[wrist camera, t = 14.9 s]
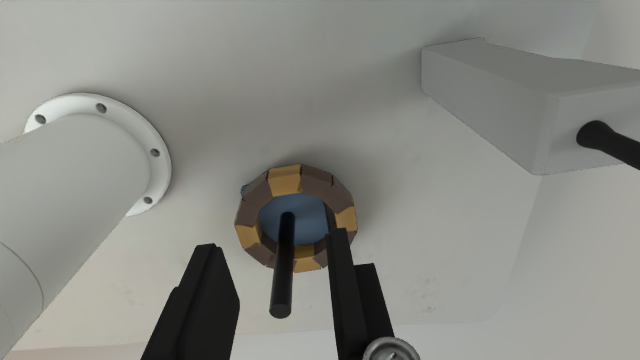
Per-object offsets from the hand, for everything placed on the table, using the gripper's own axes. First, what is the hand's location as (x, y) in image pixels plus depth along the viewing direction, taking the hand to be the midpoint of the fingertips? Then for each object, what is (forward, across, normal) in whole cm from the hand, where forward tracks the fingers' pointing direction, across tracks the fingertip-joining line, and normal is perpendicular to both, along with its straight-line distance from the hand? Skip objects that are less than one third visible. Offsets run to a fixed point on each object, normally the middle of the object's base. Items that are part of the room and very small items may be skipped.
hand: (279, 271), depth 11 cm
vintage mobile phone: (+21, -14, -2) cm, 25 cm away
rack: (+21, +2, +11) cm, 24 cm away
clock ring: (+20, +1, +11) cm, 23 cm away
